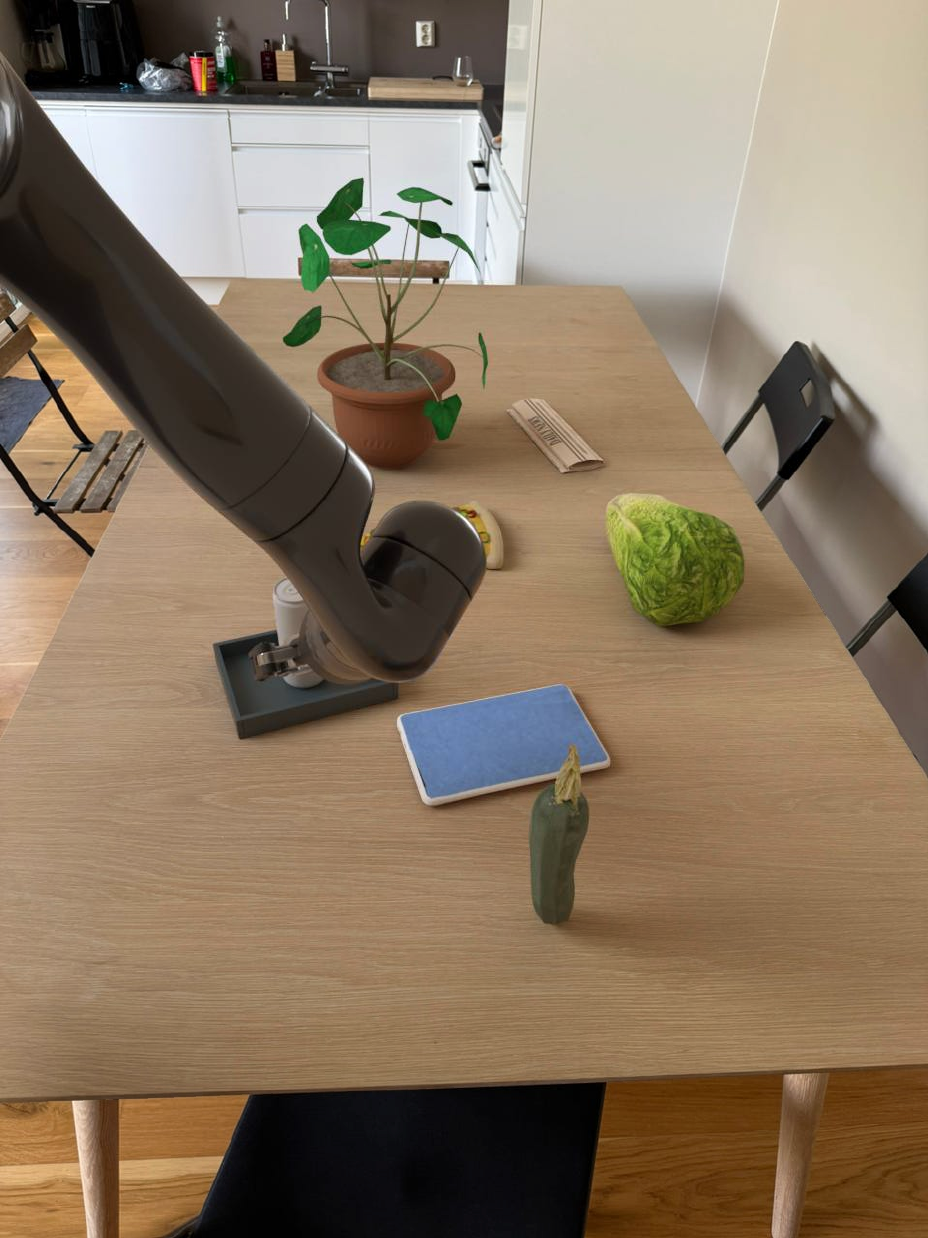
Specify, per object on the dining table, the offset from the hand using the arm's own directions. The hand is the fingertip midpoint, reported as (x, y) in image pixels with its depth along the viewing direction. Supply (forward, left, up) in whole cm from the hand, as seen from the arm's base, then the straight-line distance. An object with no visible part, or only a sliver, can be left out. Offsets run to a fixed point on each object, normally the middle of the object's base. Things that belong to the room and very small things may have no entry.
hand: (324, 655), depth 82 cm
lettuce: (+47, +14, -13) cm, 51 cm away
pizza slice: (+22, +32, -13) cm, 41 cm away
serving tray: (0, +11, -12) cm, 17 cm away
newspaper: (+53, +55, -13) cm, 78 cm away
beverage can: (0, +11, -12) cm, 17 cm away
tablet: (+16, -6, -13) cm, 21 cm away
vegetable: (+11, -26, -13) cm, 31 cm away
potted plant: (+28, +61, -13) cm, 69 cm away
